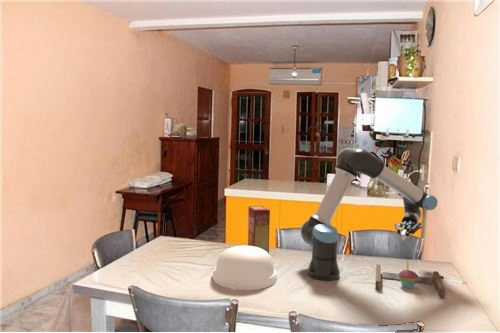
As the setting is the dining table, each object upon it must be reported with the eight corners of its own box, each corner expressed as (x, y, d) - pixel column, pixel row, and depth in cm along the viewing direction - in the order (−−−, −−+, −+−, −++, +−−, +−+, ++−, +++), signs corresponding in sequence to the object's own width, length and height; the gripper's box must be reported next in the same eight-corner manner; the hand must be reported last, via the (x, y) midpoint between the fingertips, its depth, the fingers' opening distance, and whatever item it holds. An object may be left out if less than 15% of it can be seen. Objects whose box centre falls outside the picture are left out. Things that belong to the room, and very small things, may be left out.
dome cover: (226, 263, 215) (226, 236, 213) (283, 271, 206) (284, 243, 205) (201, 285, 184) (202, 254, 183) (267, 295, 176) (268, 262, 174)
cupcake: (394, 282, 194) (396, 257, 193) (412, 282, 195) (414, 257, 194) (403, 289, 185) (404, 263, 184) (421, 289, 186) (423, 263, 185)
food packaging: (246, 248, 242) (248, 205, 240) (262, 247, 244) (263, 205, 242) (253, 255, 229) (254, 210, 227) (269, 254, 232) (271, 209, 229)
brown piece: (375, 289, 185) (375, 280, 184) (376, 272, 207) (376, 264, 207) (444, 299, 176) (445, 289, 176) (437, 279, 199) (438, 271, 199)
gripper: (424, 227, 213) (419, 244, 192) (398, 228, 219) (389, 244, 199) (422, 213, 212) (416, 229, 191) (395, 214, 218) (387, 229, 198)
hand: (403, 237), depth 195 cm, fingers closed
